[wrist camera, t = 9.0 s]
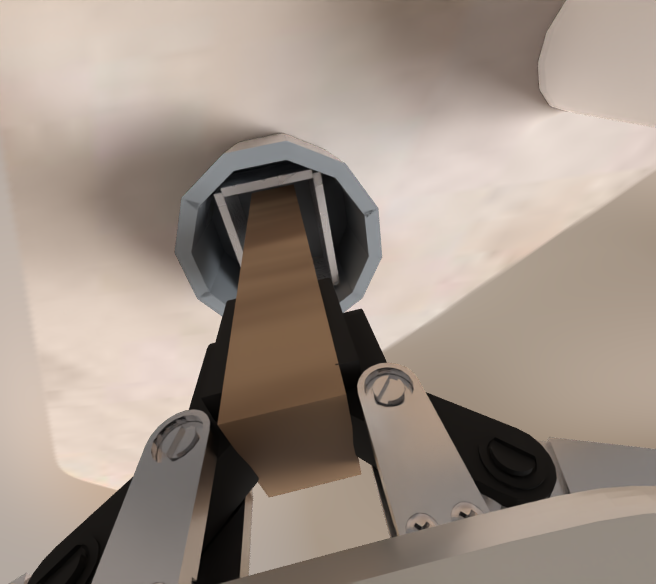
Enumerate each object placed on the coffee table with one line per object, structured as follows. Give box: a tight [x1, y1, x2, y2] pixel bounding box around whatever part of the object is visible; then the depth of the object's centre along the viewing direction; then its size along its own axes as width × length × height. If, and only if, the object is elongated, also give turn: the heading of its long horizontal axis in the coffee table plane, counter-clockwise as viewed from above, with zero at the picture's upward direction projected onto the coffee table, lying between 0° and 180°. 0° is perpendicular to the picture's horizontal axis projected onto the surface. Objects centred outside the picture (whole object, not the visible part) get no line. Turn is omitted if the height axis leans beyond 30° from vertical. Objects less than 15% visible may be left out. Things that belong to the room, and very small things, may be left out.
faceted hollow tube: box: [175, 133, 382, 316], centre depth 17 cm, size 10×10×6 cm
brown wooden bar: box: [217, 184, 361, 497], centre depth 12 cm, size 4×2×14 cm
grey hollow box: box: [214, 162, 340, 286], centre depth 17 cm, size 7×5×4 cm
